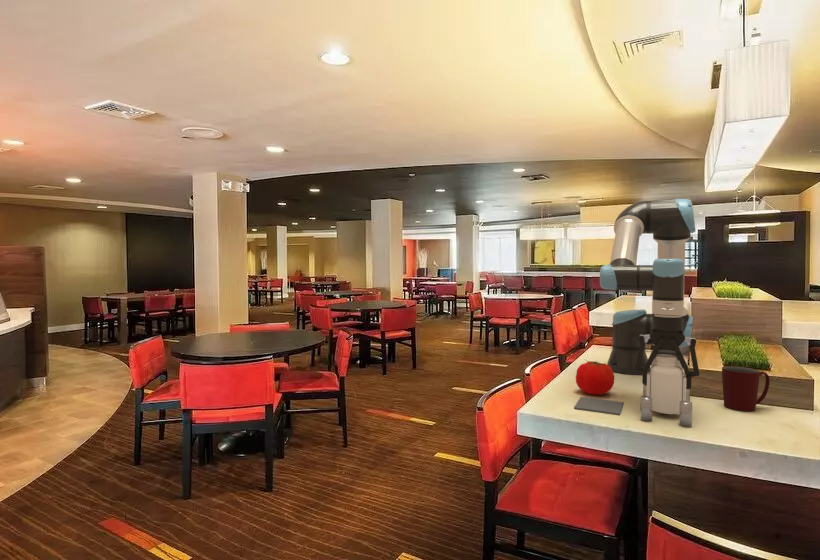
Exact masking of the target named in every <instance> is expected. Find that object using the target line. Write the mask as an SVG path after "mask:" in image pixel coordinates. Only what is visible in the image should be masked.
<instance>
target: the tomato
mask: <svg viewBox="0 0 820 560" xmlns="http://www.w3.org/2000/svg"><path fill="white" fill-rule="evenodd" d="M585 361H586V362H585V363H584V362H583V363H581V364H580V365H579V366H578V368H577V369H576V373H575V384H576V385H577V387H578V388H579V390H581V391H582V392H583V393H586V394H588V395H591V396H596V395H597V396H599V395H600V396H601V395H605V394H606V393H608V392H610V390H612V388H613V387H614V384H615V372H613V371H612V369H611V367H610V366H609V365H607V363H600V362H599V361H591V360H590V361H589V360H586V359H585Z"/></svg>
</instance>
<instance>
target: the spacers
mask: <svg viewBox="0 0 820 560" xmlns="http://www.w3.org/2000/svg"><path fill="white" fill-rule="evenodd" d="M652 401H653V398H652V397H649V396H647V385H644V384H642V395H641V396H640V415H639V416H640V421H642V422H648V423H651V422H652V421H653V410H652ZM678 417H679V418H678V425H679V427H683V428H692V427H693V426H692V425H693V402H692V401H691V389H686V401H680V408H679V416H678Z"/></svg>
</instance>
